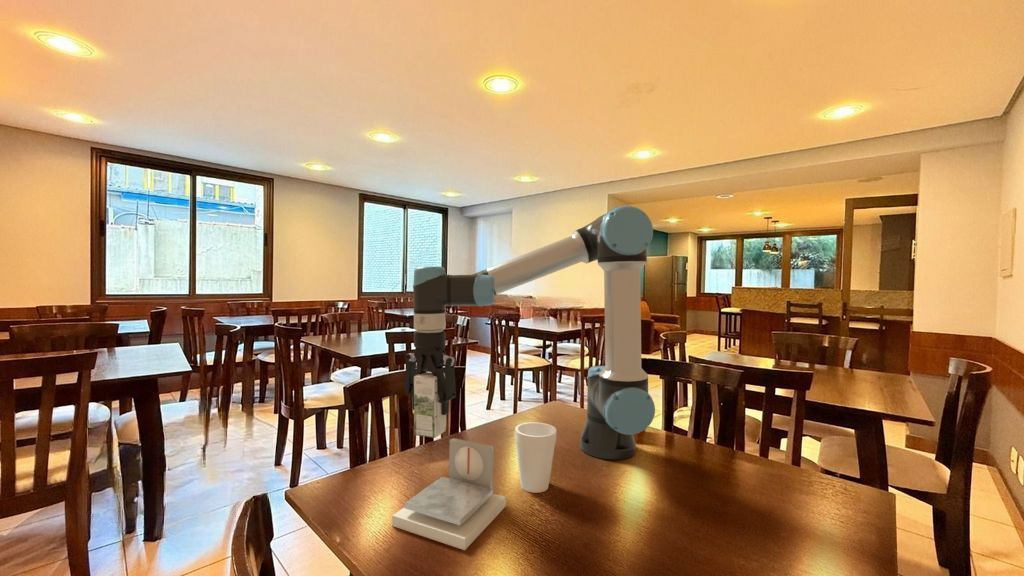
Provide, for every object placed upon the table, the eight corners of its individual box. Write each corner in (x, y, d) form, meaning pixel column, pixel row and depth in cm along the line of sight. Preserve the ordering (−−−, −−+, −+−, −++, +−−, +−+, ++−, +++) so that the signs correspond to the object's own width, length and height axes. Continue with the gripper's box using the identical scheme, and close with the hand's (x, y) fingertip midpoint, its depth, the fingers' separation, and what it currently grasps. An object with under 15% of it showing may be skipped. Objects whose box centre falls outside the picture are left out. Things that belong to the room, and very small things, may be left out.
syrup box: (446, 430, 106) (446, 372, 106) (434, 439, 101) (434, 377, 100) (426, 427, 108) (425, 370, 108) (413, 436, 102) (412, 375, 102)
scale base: (505, 506, 89) (506, 449, 89) (464, 550, 74) (465, 481, 74) (441, 488, 96) (441, 435, 95) (392, 526, 81) (392, 463, 81)
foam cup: (552, 498, 92) (554, 438, 92) (510, 493, 94) (511, 434, 94) (557, 478, 102) (558, 424, 101) (518, 474, 103) (519, 420, 103)
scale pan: (492, 494, 87) (492, 489, 87) (460, 525, 76) (460, 520, 76) (442, 480, 93) (442, 476, 93) (404, 508, 82) (404, 503, 82)
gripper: (388, 330, 104) (388, 424, 105) (454, 334, 96) (454, 437, 97) (408, 326, 111) (408, 415, 112) (471, 330, 103) (471, 426, 104)
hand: (430, 425), depth 104 cm, fingers closed on syrup box, 6 cm apart
